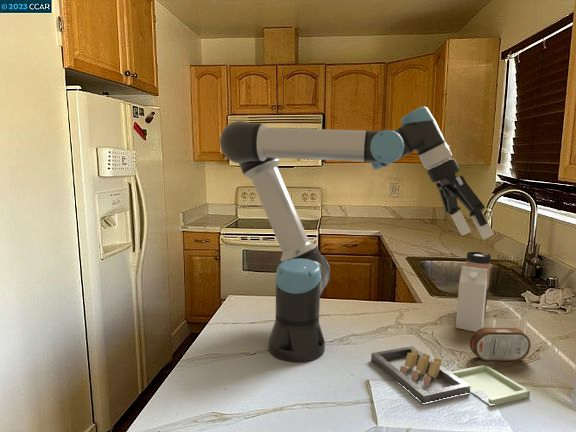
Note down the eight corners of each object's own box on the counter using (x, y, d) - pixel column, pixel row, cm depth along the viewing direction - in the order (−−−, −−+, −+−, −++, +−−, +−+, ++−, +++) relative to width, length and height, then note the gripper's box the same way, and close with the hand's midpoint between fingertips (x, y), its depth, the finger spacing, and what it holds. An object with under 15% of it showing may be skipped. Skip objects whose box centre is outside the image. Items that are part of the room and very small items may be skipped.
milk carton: (459, 320, 129) (463, 263, 127) (483, 325, 126) (488, 267, 123) (455, 328, 123) (460, 268, 121) (481, 333, 120) (486, 272, 117)
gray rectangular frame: (423, 405, 83) (423, 396, 83) (371, 360, 102) (371, 353, 101) (469, 394, 88) (470, 385, 87) (411, 353, 106) (412, 346, 106)
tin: (523, 356, 106) (526, 326, 104) (531, 362, 102) (534, 331, 101) (467, 356, 105) (470, 326, 104) (473, 362, 102) (476, 331, 101)
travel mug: (464, 312, 136) (469, 255, 134) (460, 305, 144) (464, 251, 141) (488, 315, 135) (494, 257, 132) (483, 307, 142) (488, 252, 139)
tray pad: (491, 406, 83) (491, 400, 83) (449, 377, 94) (449, 371, 94) (529, 396, 87) (529, 390, 87) (484, 370, 98) (485, 364, 98)
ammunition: (413, 346, 100) (398, 358, 94) (443, 357, 95) (429, 369, 89) (412, 365, 100) (397, 377, 94) (441, 376, 95) (428, 389, 89)
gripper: (472, 149, 93) (514, 231, 92) (437, 162, 118) (470, 226, 117) (443, 164, 93) (484, 245, 93) (414, 174, 118) (446, 238, 118)
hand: (476, 235), depth 105 cm, fingers open, 13 cm apart
